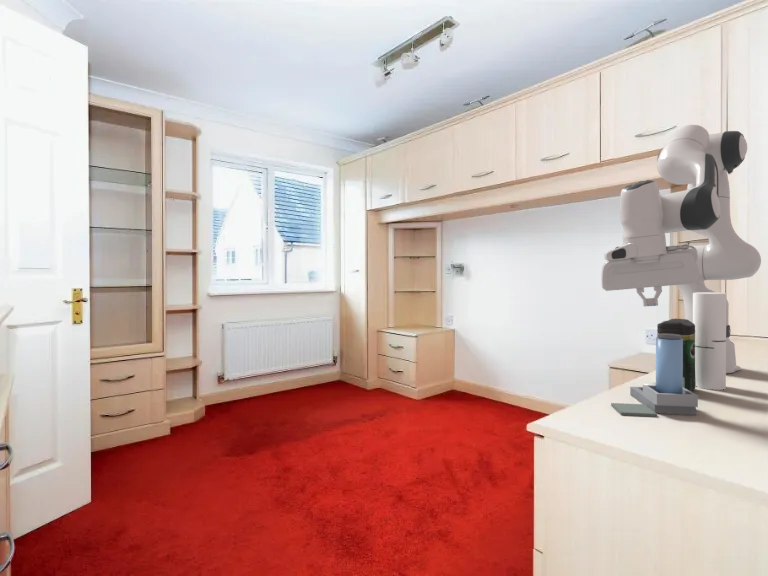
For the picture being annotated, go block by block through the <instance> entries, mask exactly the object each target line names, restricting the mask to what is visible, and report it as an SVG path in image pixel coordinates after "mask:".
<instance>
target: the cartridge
mask: <svg viewBox="0 0 768 576" xmlns="http://www.w3.org/2000/svg"><path fill="white" fill-rule="evenodd" d="M655 383H656V392H658V393H670V394H683V339H681V335H678V334H658V337H657V336H656V337H655Z"/></svg>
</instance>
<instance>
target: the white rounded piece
mask: <svg viewBox="0 0 768 576" xmlns="http://www.w3.org/2000/svg"><path fill="white" fill-rule="evenodd" d="M643 385H656V382H651V381H650V382H649V381H647V382H646V381H645V382H643V384H642V386H643Z"/></svg>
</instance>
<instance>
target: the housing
mask: <svg viewBox="0 0 768 576" xmlns="http://www.w3.org/2000/svg"><path fill="white" fill-rule="evenodd" d="M629 390H630V391H629V392H630V393H629V395H630V396H632V398H634V399H636V400H637V401H638V402H639V403H640V404H644V405H646V406H647V407H648V408H650V409H651V410H652V411H654V412H655V413H656V414H663V413H665V414H667V415H691V416H696V414H697V408H698V407H699V395H698V394H696V393H694V391H692V392H691V391H689V390H687V389H685V388H683V394H670V393H658V392H656V385H643V384H642V386H630V387H629Z"/></svg>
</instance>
